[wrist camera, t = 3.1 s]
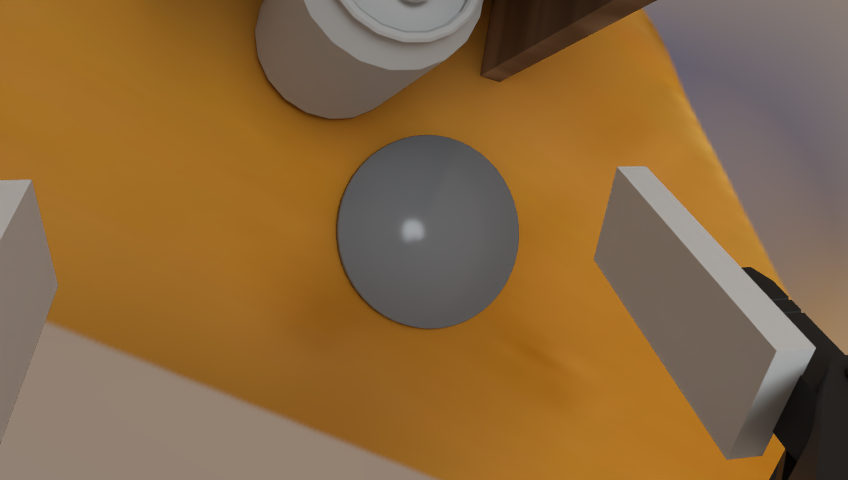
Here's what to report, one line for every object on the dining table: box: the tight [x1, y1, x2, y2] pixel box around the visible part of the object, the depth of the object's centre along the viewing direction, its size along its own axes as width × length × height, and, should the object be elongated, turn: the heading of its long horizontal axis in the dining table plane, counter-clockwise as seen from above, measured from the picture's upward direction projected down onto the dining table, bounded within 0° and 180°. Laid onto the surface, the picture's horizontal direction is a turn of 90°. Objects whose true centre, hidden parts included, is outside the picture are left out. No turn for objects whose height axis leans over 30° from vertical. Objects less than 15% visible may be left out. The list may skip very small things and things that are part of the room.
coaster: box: [336, 135, 519, 329], centre depth 38 cm, size 10×10×1 cm
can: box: [255, 0, 483, 119], centre depth 31 cm, size 8×8×12 cm
